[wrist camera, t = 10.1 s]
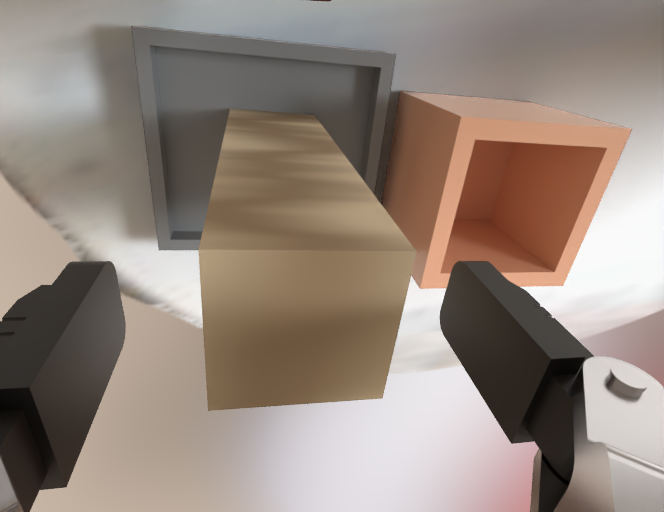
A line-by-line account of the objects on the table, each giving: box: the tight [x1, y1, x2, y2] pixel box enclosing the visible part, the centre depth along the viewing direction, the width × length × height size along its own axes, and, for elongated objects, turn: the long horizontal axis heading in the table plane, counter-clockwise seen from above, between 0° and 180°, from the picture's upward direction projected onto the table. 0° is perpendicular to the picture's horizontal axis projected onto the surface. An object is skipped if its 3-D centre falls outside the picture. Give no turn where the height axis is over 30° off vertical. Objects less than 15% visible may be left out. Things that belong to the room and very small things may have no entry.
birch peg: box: [199, 108, 417, 411], centre depth 14 cm, size 4×4×14 cm
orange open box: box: [381, 91, 632, 289], centre depth 20 cm, size 8×8×7 cm
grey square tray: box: [131, 26, 396, 250], centre depth 20 cm, size 11×10×2 cm
